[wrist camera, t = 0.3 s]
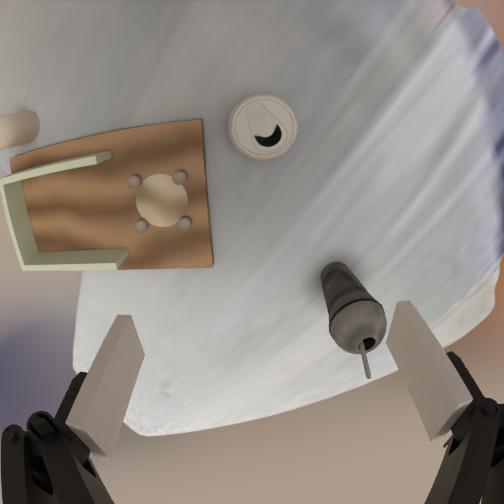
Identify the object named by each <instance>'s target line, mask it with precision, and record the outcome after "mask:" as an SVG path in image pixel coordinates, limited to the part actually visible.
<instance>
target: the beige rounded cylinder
mask: <svg viewBox="0 0 504 504" xmlns="http://www.w3.org/2000/svg"><path fill="white" fill-rule="evenodd" d="M38 132H39V119H38V117H37V115H36V114H35V113H34V112H22V113H15V114H8V115H1V116H0V151H1V150H4V149H7V148H11V147H14V146H18V145H22V144H25V143H29V142H32V141H33V140H34V139H35V138H36V136H37V134H38Z"/></svg>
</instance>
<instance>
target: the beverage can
mask: <svg viewBox="0 0 504 504" xmlns="http://www.w3.org/2000/svg"><path fill="white" fill-rule="evenodd" d="M228 131H229V136H230V139H231V141H232V143H233V144H234V146H235V147H236V148H237V149H238V150H239V151H240V152H241V153H242V154H244V155H245V156H247V157H249V158H252V159H255V160H272V159H276V158H278V157H280V156H282V155H284V154H285V153H286V152H288V151H289V150H290V149H291V147H292V146H293V145H294V143H295V141H296V139H297V136H298V131H299V123H298V118H297V115H296V113H295V111H294V109H293V108H292V106H291V105H290V104H289V103H288V102H287V101H286V100H284V99H283V98H281V97H279V96H277V95H274V94H270V93H256V94H252V95H250V96H247V97H245V98H244V99H242V100H241V101H240V102H239V103H238V104H237V105H236V106H235V107H234V109H233V110H232V112H231V114H230V117H229V122H228Z"/></svg>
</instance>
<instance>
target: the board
mask: <svg viewBox="0 0 504 504" xmlns="http://www.w3.org/2000/svg"><path fill="white" fill-rule="evenodd" d="M106 151H111V153H112V158H111V159H108V160H106V161H103V162H101V163H98V164H94V165H88V166H83V167H78V168H72V169H67V170H63V171H58V172H53V173H49V174H44V175H40V176H35V177H31V178H27V179H23V180H21V181H22V186H23V191H24V196H25V201H26V206H27V210H28V214H29V219H30V223H31V226H32V230H33V234H34V238H35V241H36V245H37V248H38V251H39V252H59V251H79V250H100V249H122V248H127V250H128V254H129V255H128V256H127V257H126V259H125V260H124V261H123V263H122V264H121V265H120V267H119V268H118V270H130V269H173V268H209V267H213V264H214V258H213V248H212V238H211V227H210V216H209V204H208V191H207V178H206V164H205V149H204V133H203V119H200V120H190V121H180V122H171V123H163V124H156V125H149V126H142V127H136V128H129V129H124V130H118V131H113V132H107V133H102V134H98V135H93V136H88V137H84V138H79V139H75V140H71V141H67V142H63V143H59V144H55V145H52V146H48V147H44V148H41V149H37V150H34V151H31V152H27V153H24V154H21V155H18V156H15V157H12V158H10V165H11V171H12V173H15V172H18V171H21V170H25V169H29V168H32V167H36V166H40V165H44V164H48V163H52V162H57V161H61V160H65V159H70V158H75V157H79V156H84V155H90V154H95V153H100V152H106Z"/></svg>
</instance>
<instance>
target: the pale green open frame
mask: <svg viewBox="0 0 504 504" xmlns="http://www.w3.org/2000/svg"><path fill="white" fill-rule="evenodd" d="M111 158H112V153H111V151H106V152H100V153H95V154H90V155H84V156H79V157H75V158H70V159H65V160H61V161H57V162H52V163H48V164H44V165H40V166H36V167H32V168H29V169H25V170H21V171H18V172H15V173H12V174H10V175H7V176H5V177H3V178H0V191H1V196H2V201H3V206H4V210H5V214H6V218H7V222H8V226H9V230H10V233H11V237H12V240H13V244H14V247H15V250H16V253H17V256H18V259H19V262H20V265H21V268H22V271H67V270H118V268H119V267H120V265H121V264H122V263H123V261H124V260H125V259H126V257H127V256H128V255H129V254H128V250H127V248H122V249H100V250H79V251H59V252H39V251H38V248H37V245H36V241H35V238H34V234H33V230H32V226H31V223H30V219H29V214H28V210H27V206H26V201H25V196H24V191H23V186H22V181H21V180H23V179H27V178H31V177H35V176H40V175H44V174H49V173H53V172H58V171H63V170H67V169H72V168H78V167H83V166H88V165H94V164H98V163H101V162H103V161H106V160H108V159H111Z"/></svg>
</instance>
